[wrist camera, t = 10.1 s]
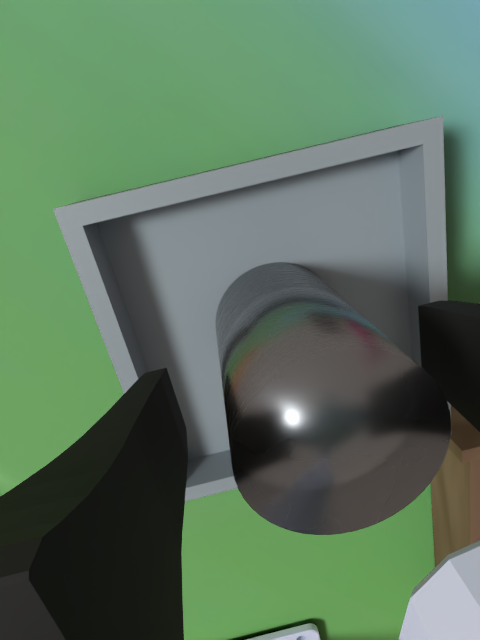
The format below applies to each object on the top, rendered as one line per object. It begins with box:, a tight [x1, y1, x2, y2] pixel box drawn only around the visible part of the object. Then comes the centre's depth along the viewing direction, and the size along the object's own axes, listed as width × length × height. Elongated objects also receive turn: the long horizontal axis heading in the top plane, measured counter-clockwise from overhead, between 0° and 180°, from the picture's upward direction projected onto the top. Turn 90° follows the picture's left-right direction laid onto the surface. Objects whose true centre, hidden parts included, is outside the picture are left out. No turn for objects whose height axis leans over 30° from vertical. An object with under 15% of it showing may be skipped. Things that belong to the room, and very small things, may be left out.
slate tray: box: [53, 116, 451, 501], centre depth 14 cm, size 11×11×2 cm
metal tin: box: [215, 262, 451, 535], centre depth 11 cm, size 4×4×7 cm
